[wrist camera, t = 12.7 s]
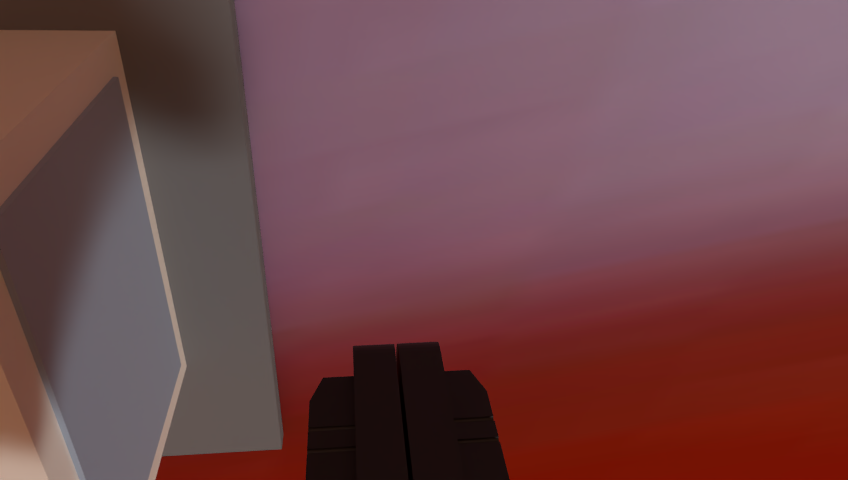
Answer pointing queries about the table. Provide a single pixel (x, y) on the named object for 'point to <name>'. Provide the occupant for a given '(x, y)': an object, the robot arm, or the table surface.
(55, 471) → the beige flat block
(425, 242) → the table surface
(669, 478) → the table surface
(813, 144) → the table surface
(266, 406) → the mat
